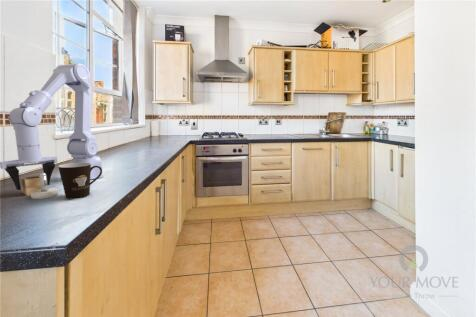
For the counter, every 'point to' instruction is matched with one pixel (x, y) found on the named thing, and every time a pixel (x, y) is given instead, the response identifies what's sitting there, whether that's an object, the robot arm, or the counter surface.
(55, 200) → the counter surface
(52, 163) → the robot arm
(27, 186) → the hollow wooden cube
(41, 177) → the silver metal cylinder
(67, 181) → the coffee mug
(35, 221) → the counter surface
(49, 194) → the lacing stand
